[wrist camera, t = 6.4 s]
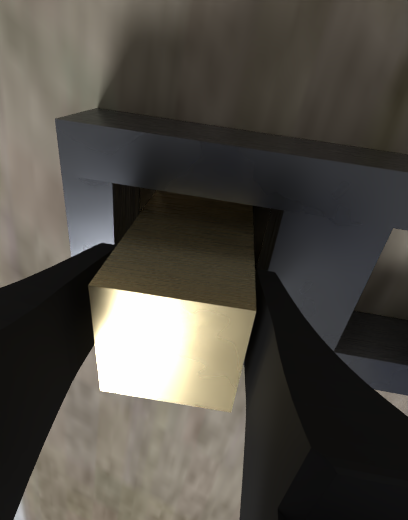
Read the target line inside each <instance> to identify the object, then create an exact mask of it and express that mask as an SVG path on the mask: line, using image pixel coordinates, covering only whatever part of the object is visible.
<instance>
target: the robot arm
mask: <svg viewBox="0 0 408 520" xmlns="http://www.w3.org/2000/svg"><path fill="white" fill-rule="evenodd" d="M116 246H117V245H113V244H107V243H100V244H98V245H95V246H93V247H91V248H89V249H87V250H85V251H83V252H81V253H79V254H77V255H75V256H73V257H71V258H69V259H67V260H65V261H63V262H60V263H58V264H56V265H54V266H52V267H50V268H48V269H45V270H43V271H41V272H39V273H36V274H34V275H32V276H29V277H27V278H25V279H23V280H20V281H18V282H15V283H12V284H10V285H7V286H4V287H1V288H0V520H13V519H14V517H15V514H16V512H17V509H18V507H19V504H20V501H21V499H22V496H23V494H24V491H25V489H26V486H27V483H28V481H29V478H30V476H31V474H32V471H33V469H34V466H35V464H36V462H37V459H38V457H39V454H40V452H41V450H42V447H43V445H44V442H45V440H46V438H47V436H48V433H49V431H50V429H51V427H52V424H53V422H54V420H55V418H56V415H57V413H58V411H59V409H60V407H61V405H62V402H63V400H64V398H65V396H66V394H67V392H68V390H69V388H70V385H71V383H72V381H73V380H74V378H75V376H76V374H77V372H78V370H79V369H80V367H81V365H82V364H83V362H84V360H85V359H86V357H87V355H88V354H89V352H90V351H91V349H92V347H93V346H94V344H95V340H94V331H93V323H92V314H91V306H90V297H89V289H88V285H89V283H90V282H91V281H92V279H93V278H94V276H95V275H96V274H97V272H98V271H99V269H100V268H101V267H102V265H103V264H104V263H105V261H106V260H107V258H108V257H109V256H110V254H111V253H112V251H113V250H114V249H115V247H116ZM255 290H256V314H255V318H254V322H253V326H252V330H251V334H250V338H249V342H248V346H247V350H246V354H245V359H244V367H245V389H246V428H245V447H244V463H243V480H242V494H241V508H240V520H408V416H406V415H405V414H404V413H403V412H401V411H400V410H399V409H397V408H396V407H395V406H394V405H392V404H391V403H390V402H389V401H387V400H386V399H385V398H384V397H382V396H381V395H380V394H379V393H378V392H376V391H375V390H374V389H373V388H372V387H370V386H369V385H368V384H367V383H366V382H365V381H364V380H363V379H362V378H361V377H359V376H358V375H357V374H356V373H355V372H354V371H353V370H352V369H351V368H350V367H349V366H348V365H347V364H346V363H344V362H343V361H342V360H341V359H340V357H339V356H338V355H337V354H336V353H335V352H334V351H333V350H332V349H331V348H330V347H329V346H328V345H327V344H326V343H325V341H324V340H323V339H322V338H321V337H320V336H319V335H318V333H317V332H316V331H315V330H314V328H313V327H312V326H311V325H310V323H309V322H308V321H307V320H306V318H305V317H304V315H303V314H302V313H301V311H300V310H299V308H298V307H297V305H296V304H295V302H294V301H293V299H292V298H291V296H290V295H289V293H288V292H287V290H286V288H285V287H284V285H283V284H282V282H281V280H280V279H279V277H278V276H277V274H276V273H275V272H272V271H266V270H260V269H257V271H256V275H255Z"/></svg>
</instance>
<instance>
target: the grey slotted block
mask: <svg viewBox="0 0 408 520" xmlns="http://www.w3.org/2000/svg"><path fill="white" fill-rule="evenodd" d="M55 123H56V132H57V140H58V148H59V157H60V165H61V173H62V182H63V190H64V199H65V207H66V215H67V224H68V232H69V241H70V249H71V257H73V256H75V255H77V254H79V253H81V252H83V251H85V250H87V249H89V248H91V247H93V246H95V245H98V244H100V243H107V244H113V245H117V244H118V243H119V242H120V240H121V239H122V238H123V236H124V235H125V233H126V232H127V231H128V229H129V228H130V226H131V225H132V224H133V222H134V221H135V220H136V218H137V217H138V215H139V187H141V188H147V189H153V190H159V191H166V192H172V193H178V194H184V195H191V196H197V197H203V198H209V199H216V200H222V201H228V202H234V203H240V204H247V205H253V206H259V207H265V208H271V211H270V215H269V219H268V223H267V227H266V231H265V235H264V239H263V243H262V247H261V251H260V255H259V259H258V263H257V267H256V271H257V269H260V270H266V271H272V272H275V273H276V274H277V276H278V277H279V279H280V280H281V282H282V284H283V285H284V287H285V288H286V290H287V292H288V293H289V295H290V296H291V298H292V299H293V301H294V302H295V304H296V305H297V307H298V308H299V310H300V311H301V313H302V314H303V315H304V317H305V318H306V320H307V321H308V322H309V323H310V325H311V326H312V327H313V328H314V330H315V331H316V332H317V333H318V335H319V336H320V337H321V338H322V339H323V340H324V341H325V343H326V344H327V345H328V346H329V347H330V348H331V349H332V350H333V351H334V352H335V353H336V354H337V355H338V356H339V357H340V359H341V360H342V361H343V362H344V363H346V364H347V365H348V366H349V367H350V368H351V369H352V370H353V371H354V372H355V373H356V374H357V375H358V376H359V377H361V378H362V379H363V380H364V381H365V382H366V383H367V384H368V385H369V386H370V387H372V388H373V389H375V390H381V391H386V392H391V393H397V394H402V395H408V320H402V319H396V318H391V317H385V316H379V315H373V314H368V313H362V312H356V311H353V310H354V308H355V306H356V304H357V302H358V300H359V298H360V296H361V294H362V292H363V289H364V287H365V285H366V283H367V281H368V279H369V277H370V275H371V273H372V271H373V269H374V267H375V265H376V262H377V260H378V258H379V256H380V254H381V252H382V250H383V248H384V246H385V244H386V242H387V240H388V238H389V235H390V233H391V231H392V229H393V228H396V229H402V230H408V155H406V154H400V153H393V152H386V151H380V150H373V149H366V148H360V147H353V146H346V145H340V144H333V143H326V142H320V141H313V140H306V139H300V138H293V137H286V136H279V135H273V134H266V133H259V132H253V131H246V130H239V129H233V128H226V127H219V126H213V125H206V124H199V123H193V122H186V121H179V120H173V119H166V118H159V117H152V116H146V115H139V114H132V113H126V112H119V111H112V110H106V109H99V108H95V109H91V110H87V111H84V112H80V113H76V114H72V115H68V116H64V117H60V118H56V119H55ZM256 271H255V275H256ZM243 365H244V363H243Z"/></svg>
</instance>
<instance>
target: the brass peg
mask: <svg viewBox="0 0 408 520" xmlns="http://www.w3.org/2000/svg"><path fill="white" fill-rule="evenodd" d="M88 289H89V297H90V306H91V314H92V323H93V331H94V340H95V349H96V357H97V366H98V374H99V383H100V390H101V391H107V392H112V393H118V394H124V395H130V396H136V397H142V398H148V399H154V400H160V401H165V402H171V403H177V404H183V405H189V406H195V407H201V408H207V409H213V410H219V411H224V412H230V413H231V411H232V407H233V403H234V399H235V395H236V391H237V387H238V383H239V379H240V375H241V371H242V367H243V363H244V359H245V354H246V350H247V346H248V342H249V338H250V334H251V330H252V326H253V322H254V318H255V314H256V290H255V261H254V233H253V205H247V204H240V203H234V202H228V201H222V200H216V199H209V198H203V197H197V196H191V195H184V194H178V193H172V192H166V191H159V190H156V192H155V193H154V195H153V196H152V197H151V199H150V200H149V202H148V203H147V204H146V206H145V207H144V208H143V210H142V211H141V213H140V214H139V215H138V217H137V218H136V220H135V221H134V222H133V224H132V225H131V226H130V228H129V229H128V231H127V232H126V233H125V235H124V236H123V238H122V239H121V240H120V242H119V243H118V244H117V246H116V247H115V249H114V250H113V251H112V253H111V254H110V256H109V257H108V258H107V260H106V261H105V263H104V264H103V265H102V267H101V268H100V269H99V271H98V272H97V274H96V275H95V276H94V278H93V279H92V281H91V282H90V283H89V285H88Z"/></svg>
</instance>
